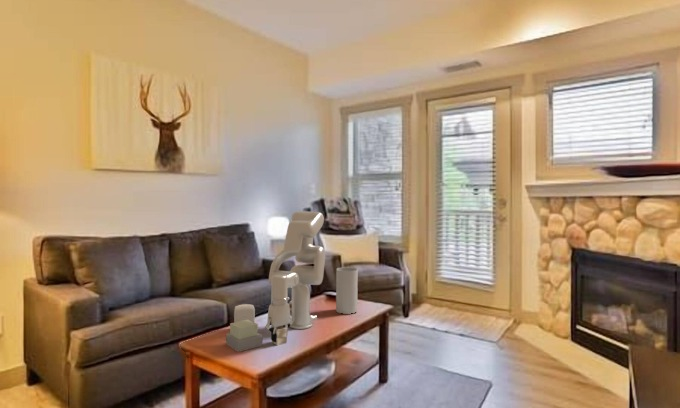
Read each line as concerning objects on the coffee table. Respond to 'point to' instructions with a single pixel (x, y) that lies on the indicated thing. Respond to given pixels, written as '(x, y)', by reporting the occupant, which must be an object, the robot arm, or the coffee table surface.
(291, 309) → the decorative ornament
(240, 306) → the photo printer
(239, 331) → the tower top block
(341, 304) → the cylinder vase
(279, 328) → the ash block
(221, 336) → the coffee table surface
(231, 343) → the tower bottom block
